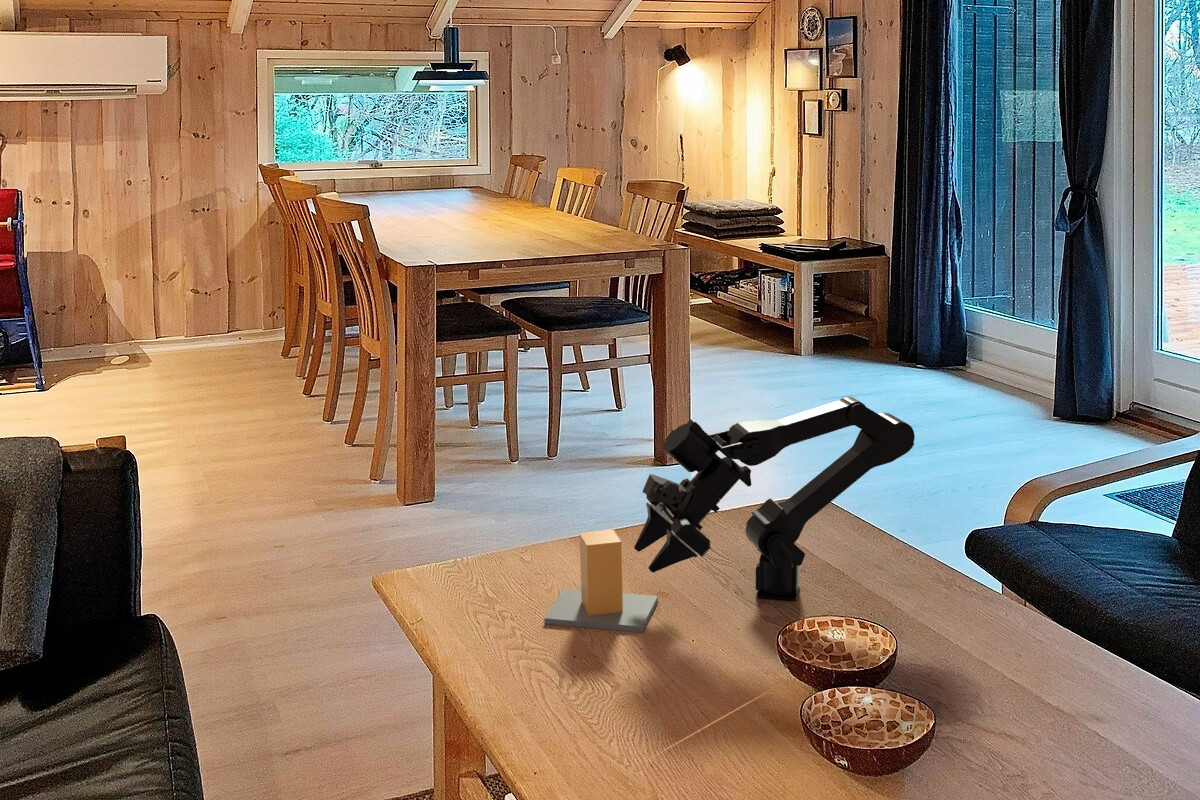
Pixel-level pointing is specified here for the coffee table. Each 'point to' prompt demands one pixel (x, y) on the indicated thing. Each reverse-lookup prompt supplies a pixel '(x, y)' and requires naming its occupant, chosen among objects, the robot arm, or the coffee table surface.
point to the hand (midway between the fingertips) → (643, 560)
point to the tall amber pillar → (601, 572)
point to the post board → (574, 614)
